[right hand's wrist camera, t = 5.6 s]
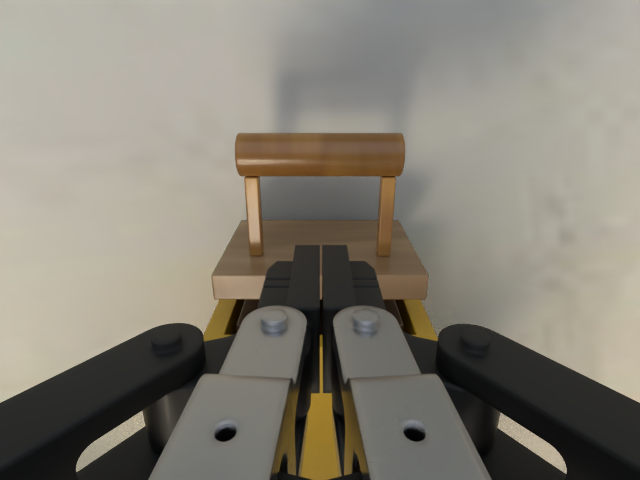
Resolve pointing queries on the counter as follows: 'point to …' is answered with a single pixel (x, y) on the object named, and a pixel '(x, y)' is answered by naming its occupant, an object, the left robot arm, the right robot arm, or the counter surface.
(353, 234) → the drawer
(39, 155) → the counter surface
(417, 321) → the cabinet
